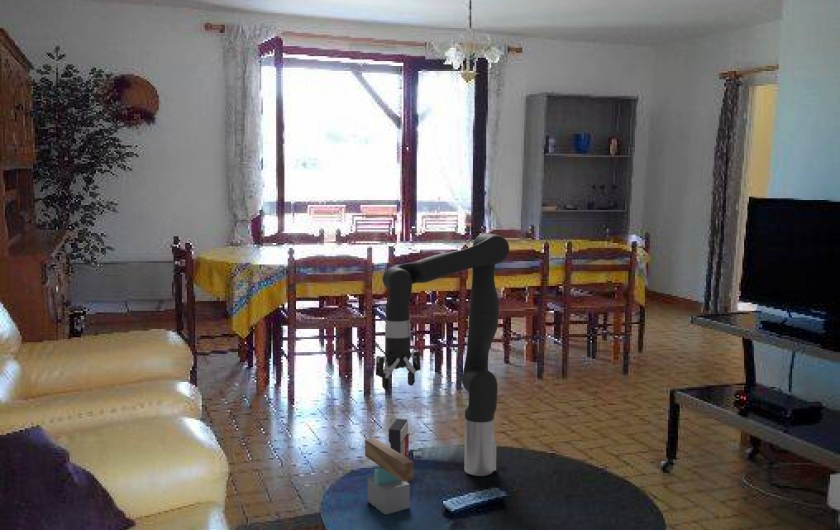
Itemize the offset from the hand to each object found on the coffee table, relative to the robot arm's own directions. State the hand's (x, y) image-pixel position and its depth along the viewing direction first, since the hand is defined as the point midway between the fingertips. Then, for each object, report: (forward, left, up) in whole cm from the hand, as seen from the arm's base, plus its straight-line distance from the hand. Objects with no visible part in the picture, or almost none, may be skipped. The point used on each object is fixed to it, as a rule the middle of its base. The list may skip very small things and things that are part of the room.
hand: (398, 387), depth 216 cm
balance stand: (+10, +12, -30) cm, 34 cm away
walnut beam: (+10, +12, -19) cm, 24 cm away
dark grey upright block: (-5, -8, -30) cm, 32 cm away
